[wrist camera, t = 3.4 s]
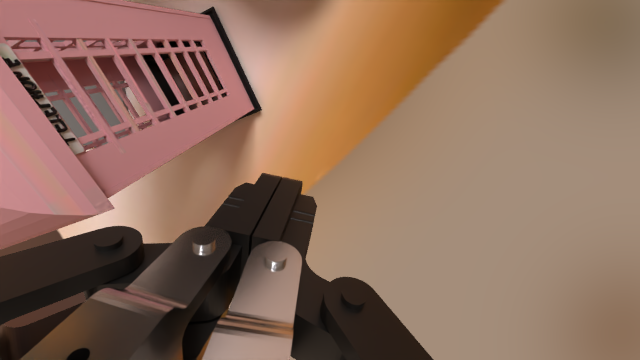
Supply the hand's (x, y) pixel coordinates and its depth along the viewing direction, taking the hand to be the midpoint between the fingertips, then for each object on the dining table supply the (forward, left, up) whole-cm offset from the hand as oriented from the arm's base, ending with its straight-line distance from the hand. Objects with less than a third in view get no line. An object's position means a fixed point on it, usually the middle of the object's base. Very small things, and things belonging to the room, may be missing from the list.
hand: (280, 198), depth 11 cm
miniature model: (+12, 0, -17) cm, 20 cm away
